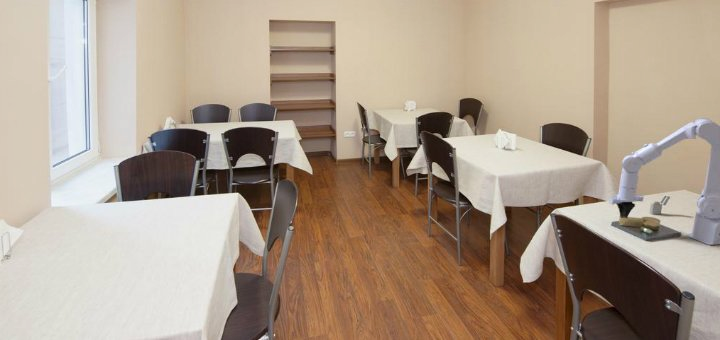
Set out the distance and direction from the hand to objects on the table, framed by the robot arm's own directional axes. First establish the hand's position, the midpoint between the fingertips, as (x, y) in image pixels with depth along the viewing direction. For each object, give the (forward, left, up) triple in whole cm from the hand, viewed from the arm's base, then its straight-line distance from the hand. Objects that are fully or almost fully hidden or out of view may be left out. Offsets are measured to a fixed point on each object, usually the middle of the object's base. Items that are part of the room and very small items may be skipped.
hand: (623, 219), depth 175 cm
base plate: (-5, -5, -3) cm, 8 cm away
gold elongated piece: (-5, -3, -1) cm, 6 cm away
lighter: (+9, -27, -3) cm, 29 cm away
